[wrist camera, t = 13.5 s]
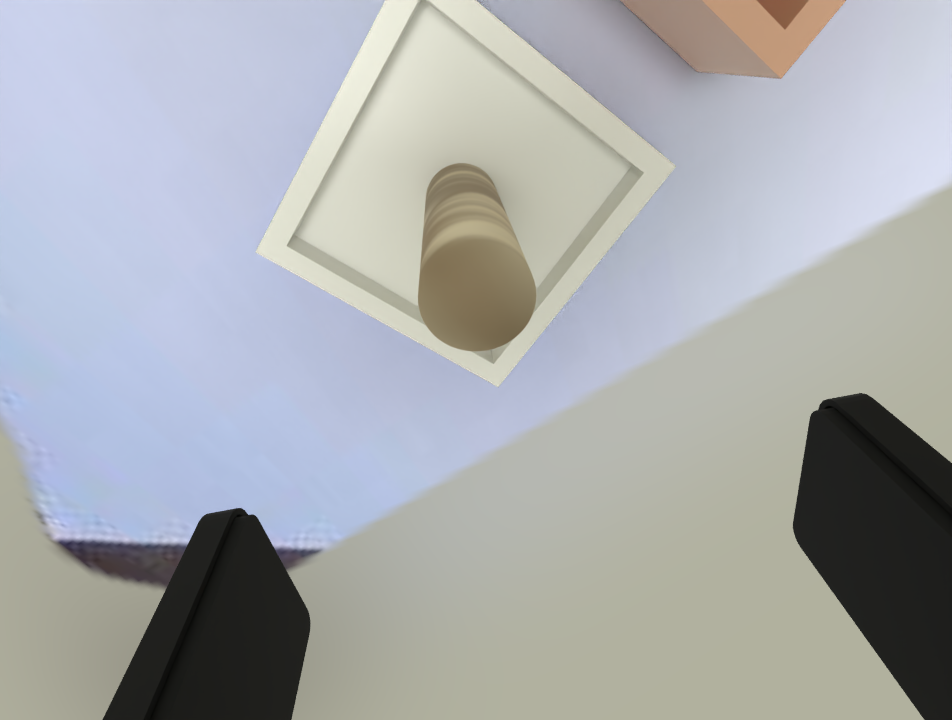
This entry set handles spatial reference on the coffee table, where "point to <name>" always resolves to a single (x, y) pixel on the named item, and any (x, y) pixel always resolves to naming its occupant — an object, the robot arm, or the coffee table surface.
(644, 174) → the cream tray
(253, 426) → the coffee table surface
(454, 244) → the birch dowel
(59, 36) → the coffee table surface
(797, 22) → the terracotta cup
